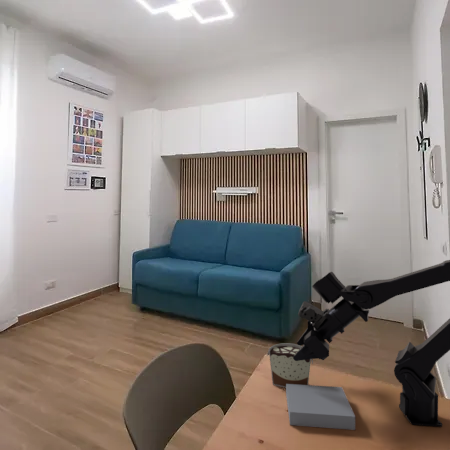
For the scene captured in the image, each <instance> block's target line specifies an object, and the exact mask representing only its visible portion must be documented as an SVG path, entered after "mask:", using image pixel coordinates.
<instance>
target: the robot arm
mask: <svg viewBox="0 0 450 450" xmlns="http://www.w3.org/2000/svg"><path fill="white" fill-rule="evenodd" d="M447 282H450V259H447V260H444V261H443V262H440V263H438V264H435V265H430V266H428V267H425V268H422V269H418V270H415V271H412V272H409V273H405V274H402V275H399V276H397V277H393V278H388V279H374V280H368V281H364V282H362V283H360V284H349V285H346V286H345V285H344V284H343V283H342V282H341V280H340V279H339V278H338V276H336V274H335V273H334V272H333V271H330V272H328V273H327V274H326V275H324V276H323V277H322V278H320V279H318V280H317V281H316V282H315V283H314V284H313V285H312V286H311V287H312V288H313V289H314V291H315V292H316V293H317V294H318V296H320V298H321V299H322V300H323V301H324V302H325V303H327V304H330V303H331V304H332V305H333V304H334V303H335V302H337V301H338V300H339V299H340V298H341V297H342V299H341V300H340V301H339V302H337V303H336V304H334V305H333V306H332V307H331V308H330V309H329V308H325V309H324V310H322V309H320V308H319V307H317V306H315V305H314V304H311V303H310V302H308V301H303V302H302V304H301V306H300V308H299V309H298V313H297V315H298V316H299V317H300V318H301V319H305V320H307V328H306V329H305V331H304V332H303V333H302V334H301V336H300V337H299V339H298V340H297V341H296V345H300V346H302V347H301V348H300V350H299V351H298V352H297V353H296V354H295V355H294V357H293V359H294V360H295V361H300V360H307V359H313V360H316V359H318V360H321V361H325V360H326V359H327V358H328V357H329V356H330V343H332V342H333V338H335V336H336V335H339V333H340V334H344V332H345V329H346V328H347V327H348V326H350V325H351V324H352V323H354V321H356V320H357V319H358V318H360V317H361V319H362V320H363V321H364V322H365V323H366V322H368V321H369V313H370V310H371V309H373V308H375V307H378V306H379V305H383V304H384V303H385V302H387V301H389V300H391V299H393V298H395V297H397V296H400V295H403V294H407V293H411V292H416V291H418V290H422V289H425V288H430V287H433V286H437V285H440V284H443V283H447ZM449 351H450V318H449V319H447V320H446V321H445V322H444V323H443V324H442V325H441V326H440V327H438V328H437V329H436V330H435V331H434V332H433V333H432V334H431V335H430V336H429V337H427V338H426V339H425V340H424V341H423V342H422V343H420V344H418V345H414V344H413V343H412V342H411V341H409V342H408V343H407V345H405V347H404V348H403V349H401V350H398V353H397V355H396V359H395V361H394V363H395V366H394V369H393V372H394V376H395V378H396V380H397V381H398V383H400V384H401V386H402V389H401V390H402V391H401V392H400V393H399V404H398V407H399V409H400V411H401V412H402V413H403V416H405V418H406V419H407V420H408V422H409V423H410V424H411V425H412V426H413V425H414V426H427V427H439V428H440V427H443V423H442V421H440V420H439V394H438V393H437V392H436V385H437V378H436V376H435V375H434V374H433V373H432V370H433V368H434V367H435V365H436V364H437V362H438V361H439V360H440V359H441V358H442V357H444V356H445V355H446V354H447V353H448V352H449Z"/></svg>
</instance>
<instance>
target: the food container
mask: <svg viewBox="0 0 450 450" xmlns="http://www.w3.org/2000/svg"><path fill="white" fill-rule="evenodd" d="M302 346H303V345H301V346H300V345H298V344H297V343H287V342H286V343H284V342H283V343H277V344H274V345H271V347H268V351H267V357H268V356H269V362H270V372H271V380H272V385H273V386H276V387H281V388H285V389H286V384H298V385H309V379H310V372H311V371H310V370H311V364H312V365H314V361H313V360H314V359H307V360H300V361H295V360H294V359H293V357H294V355H295V354H296V353H297V352H298V351H299V350H300V348H301V347H302Z"/></svg>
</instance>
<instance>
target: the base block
mask: <svg viewBox="0 0 450 450" xmlns="http://www.w3.org/2000/svg"><path fill="white" fill-rule="evenodd" d="M285 394H286V395H285V396H286V403H287V404H286V405H287V411H288V419H289V425H290V426H298V427H314V428H325V429H326V428H327V429H336V430H338V429H339V430H350V431H351V430H352V431H355V430H356V414H355V413H354V410H353V408H352V406H351V404H350V401H349V400H348V397H347V395H346V393H345V390H344V388H343V387H342V386H333V385H332V386H327V385H314V384H313V385H311V384H308V385H298V384H286V388H285Z"/></svg>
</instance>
